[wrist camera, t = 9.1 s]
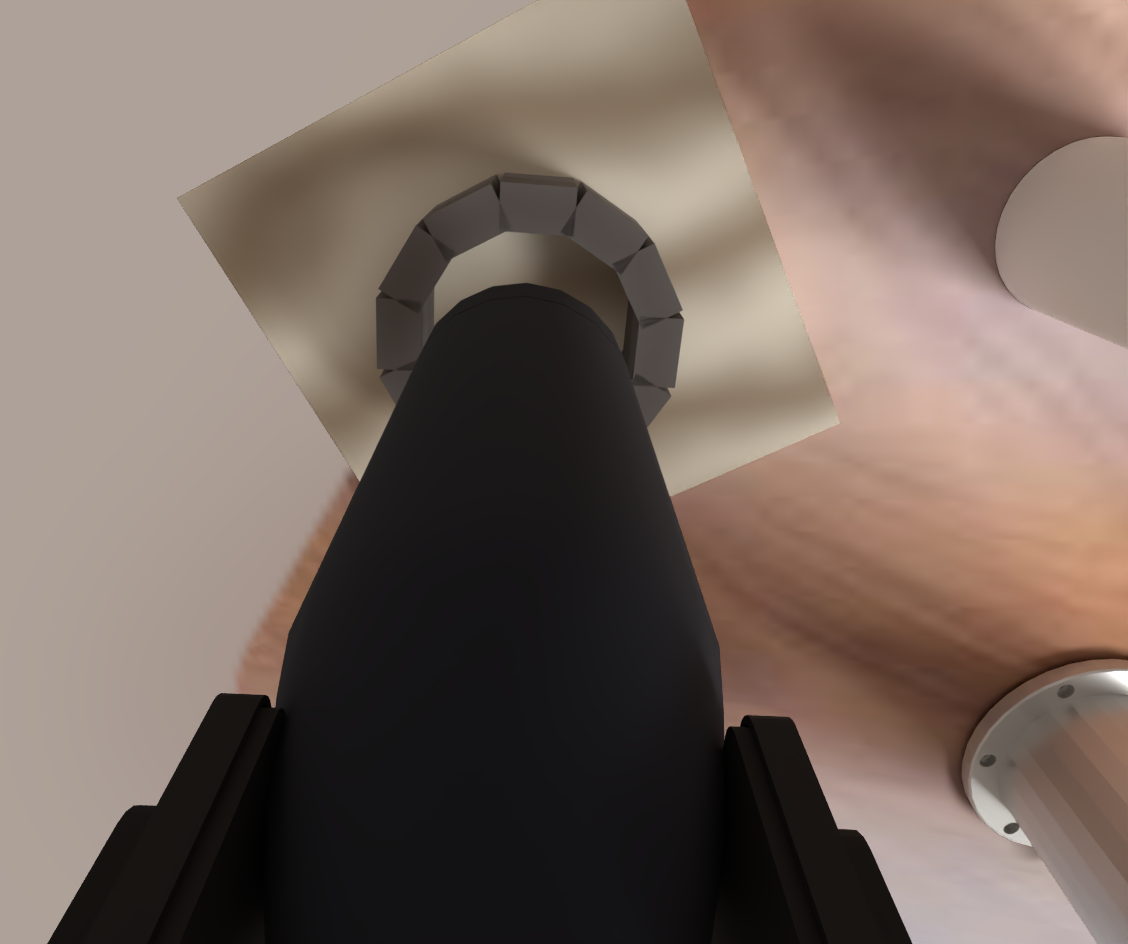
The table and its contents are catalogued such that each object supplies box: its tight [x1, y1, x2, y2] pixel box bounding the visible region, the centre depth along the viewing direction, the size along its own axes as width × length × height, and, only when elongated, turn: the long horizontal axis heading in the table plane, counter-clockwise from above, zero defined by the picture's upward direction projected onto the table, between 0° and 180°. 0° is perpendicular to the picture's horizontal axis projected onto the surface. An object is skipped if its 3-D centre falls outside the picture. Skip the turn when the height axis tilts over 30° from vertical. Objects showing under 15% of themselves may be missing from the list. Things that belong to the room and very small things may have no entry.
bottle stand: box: [177, 0, 840, 497], centre depth 33 cm, size 20×20×6 cm
